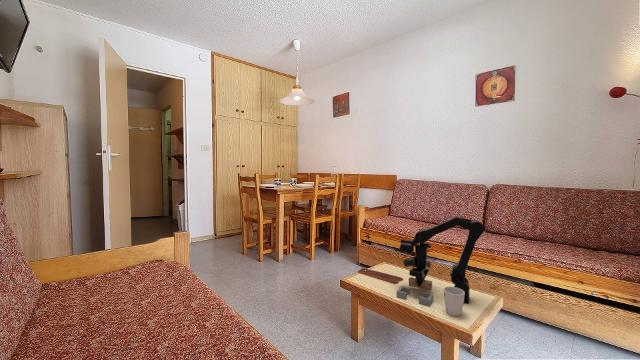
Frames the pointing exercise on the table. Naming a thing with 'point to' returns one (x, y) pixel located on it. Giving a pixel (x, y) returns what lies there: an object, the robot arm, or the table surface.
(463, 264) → the robot arm
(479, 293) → the table surface
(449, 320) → the table surface
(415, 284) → the slat
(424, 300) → the end cap
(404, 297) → the end cap
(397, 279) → the wooden tablet
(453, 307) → the cup
